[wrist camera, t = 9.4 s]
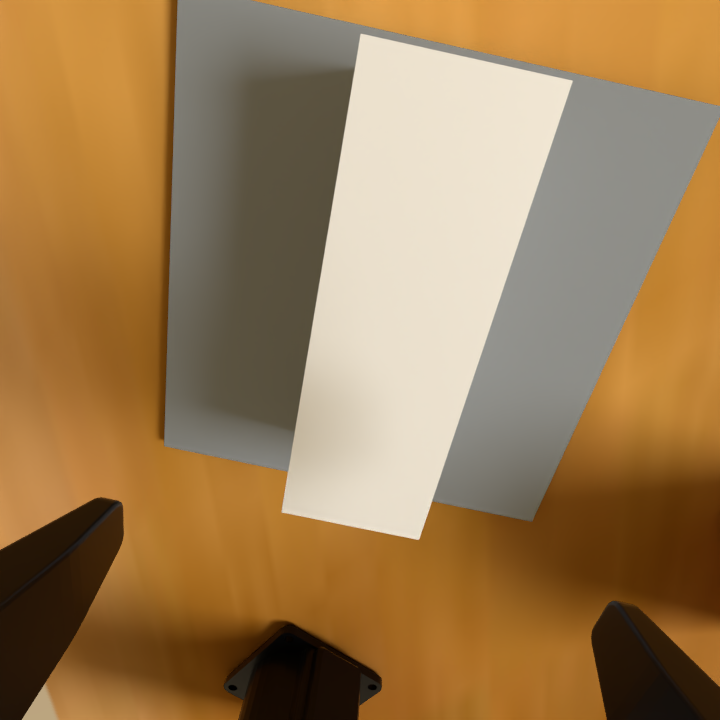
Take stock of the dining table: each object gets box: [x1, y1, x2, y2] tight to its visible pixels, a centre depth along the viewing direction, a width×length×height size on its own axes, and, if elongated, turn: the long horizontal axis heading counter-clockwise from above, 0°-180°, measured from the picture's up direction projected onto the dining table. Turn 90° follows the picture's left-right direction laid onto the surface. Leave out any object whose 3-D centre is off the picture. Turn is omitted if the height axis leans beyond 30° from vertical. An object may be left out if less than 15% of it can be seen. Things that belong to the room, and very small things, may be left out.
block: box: [282, 34, 573, 540], centre depth 14 cm, size 4×4×13 cm
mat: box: [164, 0, 720, 522], centre depth 17 cm, size 16×16×1 cm
